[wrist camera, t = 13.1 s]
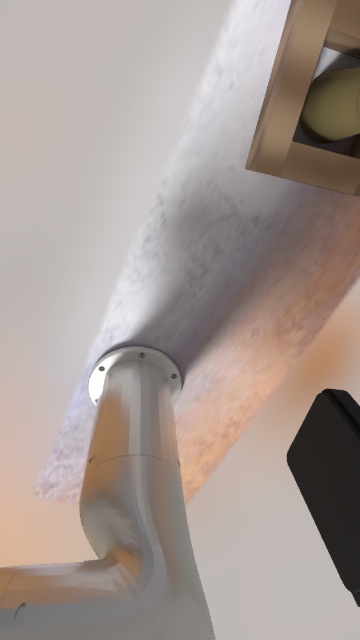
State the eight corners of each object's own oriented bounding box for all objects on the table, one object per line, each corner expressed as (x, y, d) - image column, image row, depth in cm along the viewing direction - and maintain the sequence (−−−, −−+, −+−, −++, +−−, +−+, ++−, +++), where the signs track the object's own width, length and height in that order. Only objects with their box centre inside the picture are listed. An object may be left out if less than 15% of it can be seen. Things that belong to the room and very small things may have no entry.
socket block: (354, 195, 35) (375, 199, 32) (245, 168, 32) (255, 170, 29) (424, 34, 29) (457, 20, 26) (295, -14, 26) (315, -35, 23)
